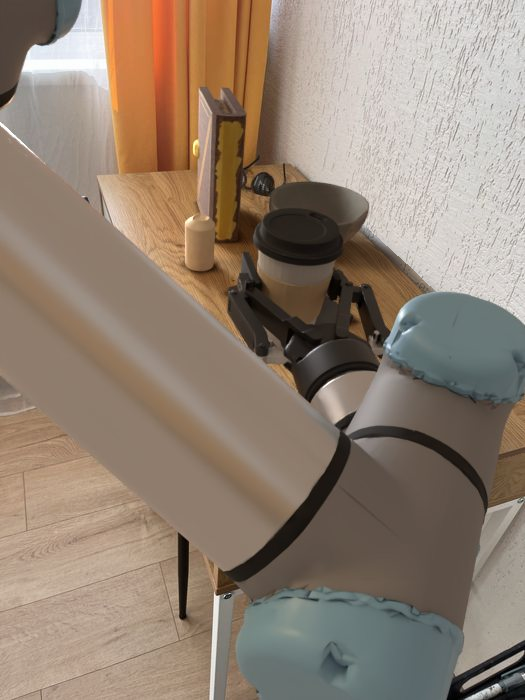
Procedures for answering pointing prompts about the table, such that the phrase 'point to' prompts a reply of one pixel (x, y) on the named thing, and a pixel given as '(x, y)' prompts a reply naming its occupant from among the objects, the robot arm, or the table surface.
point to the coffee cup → (297, 260)
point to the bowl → (324, 203)
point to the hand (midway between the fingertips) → (282, 260)
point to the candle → (199, 242)
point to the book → (220, 160)
